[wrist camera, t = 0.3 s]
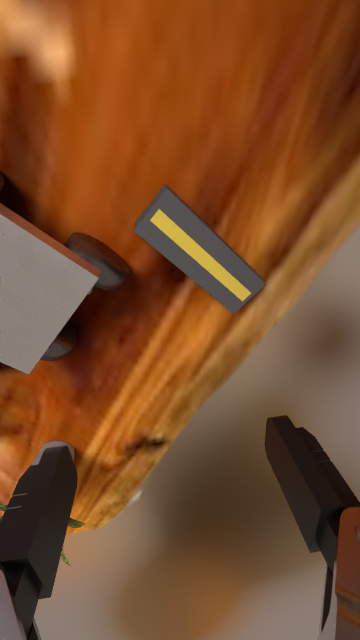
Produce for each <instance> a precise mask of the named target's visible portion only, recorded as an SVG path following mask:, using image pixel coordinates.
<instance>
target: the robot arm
mask: <svg viewBox="0 0 360 640" xmlns="http://www.w3.org/2000/svg"><path fill="white" fill-rule="evenodd" d="M265 450H266V455H267V458H268V460H269V463H270V465H271V467H272V469H273V471H274V473H275V476H276V478H277V480H278V482H279V485H280V487H281V489H282V491H283V493H284V496H285V498H286V500H287V502H288V504H289V507H290V509H291V511H292V513H293V515H294V518H295V520H296V522H297V524H298V526H299V529H300V531H301V533H302V535H303V538H304V540H305V542H306V544H307V546H308V549H309V551H310V553H312V552H317V551H321V552H322V554H323V556H324V558H325V561H326V567H325V578H324V588H323V597H322V608H321V617H320V627H319V636H318V640H360V502H359V501H358V499H357V498H356V496H355V495H354V493H353V492H352V491H351V489H350V488H349V486H348V485H347V483H346V482H345V480H344V479H343V477H342V476H341V474H340V473H339V471H338V470H337V469H336V467H335V466H334V465H333V463H332V462H331V461H330V458H329V457H328V456H327V454H326V453H325V452H324V451H323V448H322V447H321V445H320V444H319V442H318V441H317V439H316V438H315V437H314V436H313V435H312V434H311V433H309V432H308V431H307V430H306V429H304V428H303V427H301V428H295V426H294V425H293V423H292V422H291V420H290V419H289V417H288V416H286V415H284V416H278V417H270V418H268V419H267V424H266V435H265ZM76 488H77V470H76V467H75V465H74V462H73V459H72V456H71V453H70V450H69V448H68V446H66V445H65V446H58V447H51V448H46V449H45V450H44V452H43V454H42V456H41V459H40V461H39V464H38V465H31V466H30V467H29V468H28V469H27V471H26V472H25V473H24V474H23V475H22V477H21V478H20V479H19V481H18V483H17V485H16V488H15V490H14V492H13V494H12V498H11V499H10V501H9V503H8V506H7V510H6V511H5V512H4V515H3V517H2V519H1V521H0V640H41V637H40V634H39V631H38V628H37V625H36V622H35V619H34V614H35V610H36V606H37V602H38V599H42V598H49V597H51V594H52V589H53V585H54V581H55V577H56V572H57V568H58V564H59V559H60V556H61V552H62V547H63V543H64V539H65V535H66V530H67V526H68V522H69V518H70V514H71V509H72V505H73V501H74V497H75V492H76Z"/></svg>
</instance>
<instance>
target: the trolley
mask: <svg viewBox="0 0 360 640" xmlns="http://www.w3.org/2000/svg"><path fill="white" fill-rule="evenodd" d="M4 184H5V179H4V177H3V175H2V174H1V173H0V192H1V190H2V188H3V186H4ZM128 276H129V269H128V267H127V265H126V264H125V262H124V261H123V260H122V259H121V258H120V257H119V256H118V255H117V254H116V253H115V252H114V251H113V250H112V249H110V248H109V247H108V246H106V245H105V244H104V243H102V242H100V241H99V240H97V239H95V238H93V237H91V236H89V235H86V234H83V233H73V234H72V235H71V236H70V238H69V239H68V241H67V242H66V244H65V246H64V245H62V244H61V243H59V242H58V241H56V240H55V239H53V238H52V237H50V236H49V235H47V234H46V233H44V232H43V231H41V230H40V229H38V228H37V227H35V226H34V225H32V224H31V223H29V222H28V221H26V220H25V219H23V218H22V217H20V216H19V215H17V214H16V213H14V212H13V211H11V210H10V209H8V208H7V207H5V206H4V205H2V204H1V203H0V362H2V363H4V364H6V365H9V366H11V367H13V368H15V369H18V370H20V371H22V372H24V373H27V374H29V373H30V372H31V371H32V369H33V368H34V367H35V365H36V364H37V362H38V361H39V360H45V361H57V360H60V359H63V358H64V357H66V356H67V354H68V353H69V352H70V351H71V349H72V348H73V347H74V345H75V344H76V342H77V334H76V331H75V329H74V327H73V326H72V325H71V324H70V322H69V321H68V320H69V318H70V317H71V316H72V314H73V313H74V312H75V310H76V309H77V308H78V306H79V305H80V303H81V302H82V301H83V299H84V298H85V297H86V295H87V294H88V295H89V294H90V293H91V292H92V290H93V288H94V286H96V287H98V288H101V289H104V290H108V291H115V290H118V289H119V288H120V286H121V285H122V284H123V283H124V281H125V280H126V279H127V277H128Z"/></svg>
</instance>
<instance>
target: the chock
mask: <svg viewBox="0 0 360 640" xmlns="http://www.w3.org/2000/svg"><path fill="white" fill-rule="evenodd" d="M134 232H136V233H137V234H138V235H139V236H140V237H142V238H143V239H144V240H145V241H146V242H148V243H149V244H150V245H151V246H153V247H154V248H155V249H156V250H157V251H159V252H160V253H161V254H162V255H163V256H165V257H166V258H167V259H168V260H169V261H171V262H172V263H173V264H174V265H175V266H177V267H178V268H179V269H180V270H181V271H183V272H184V273H185V274H186V275H187V276H189V277H190V278H191V279H192V280H193V281H195V282H196V283H197V284H198V285H200V286H201V287H202V288H203V289H204V290H206V291H207V292H208V293H209V294H210V295H212V296H213V297H214V298H215V299H216V300H218V301H219V302H220V303H221V304H222V305H224V306H225V307H226V308H227V309H228V310H230V311H231V312H232V313H233V314H234V313H235V312H236V311H238V310H239V309H240V308H241V307H242V306H243V305H244V304H245V303H246V302H247V301H249V300H250V299H251V298H252V297H253V296H254V295H255V294H256V293H257V292H258V291H260V290H261V289H262V288H263V287H264V286H265V285H266V283H265V282H264V281H263V280H262V279H261V278H260V276H259V275H258V274H257V273H256V272H255V271H254V270H253V269H252V268H251V267H250V266H249V265H248V264H247V263H246V262H245V261H244V260H243V259H242V258H241V257H240V256H239V255H238V254H237V253H236V252H235V251H234V250H233V249H232V248H231V247H230V246H229V245H228V244H227V243H226V242H225V241H224V240H223V239H222V238H221V237H220V236H218V235H217V234H216V233H215V232H214V231H213V230H212V229H211V228H210V227H209V226H208V225H207V224H206V223H205V222H204V221H203V220H202V219H201V218H200V217H199V216H198V215H197V214H196V213H195V212H194V211H193V210H192V209H191V208H190V207H189V206H188V205H187V204H186V203H185V202H184V201H182V200H181V199H180V198H179V197H178V196H177V195H176V194H175V193H174V192H173V191H172V190H171V189H170V188H169V187H168V186H167V185H166V184H165V185H164V186H163V187H162V189H161V190H160V191H159V193H158V194H157V195H156V196H155V198H154V199H153V200H152V202H151V203H150V204H149V205H148V207H147V208H146V209H145V210H144V212H143V213H142V214H141V216H140V217H139V218H138V219H137V221H136V223H135V227H134Z"/></svg>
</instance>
